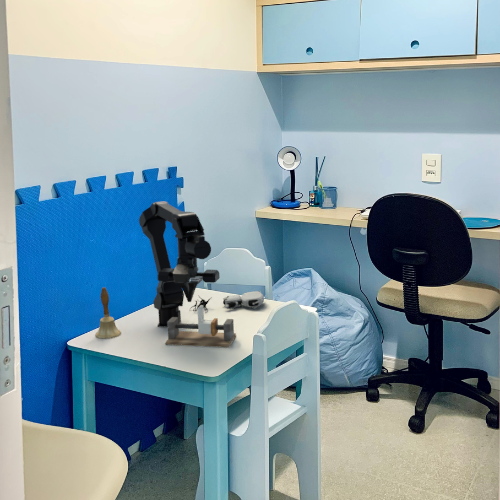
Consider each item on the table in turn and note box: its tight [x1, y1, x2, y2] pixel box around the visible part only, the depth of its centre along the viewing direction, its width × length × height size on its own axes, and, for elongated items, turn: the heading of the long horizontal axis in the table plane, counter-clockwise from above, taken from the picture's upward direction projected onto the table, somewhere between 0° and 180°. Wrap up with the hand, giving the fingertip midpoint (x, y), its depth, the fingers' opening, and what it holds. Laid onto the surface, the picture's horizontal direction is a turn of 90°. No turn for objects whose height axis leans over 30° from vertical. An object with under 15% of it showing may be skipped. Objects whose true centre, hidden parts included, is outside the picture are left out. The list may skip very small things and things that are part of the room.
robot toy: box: [222, 290, 265, 309], centre depth 237 cm, size 12×4×15 cm
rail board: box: [165, 317, 237, 348], centre depth 202 cm, size 20×10×7 cm, turn 79°
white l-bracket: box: [197, 305, 213, 334], centre depth 201 cm, size 4×4×8 cm
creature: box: [189, 295, 213, 314], centre depth 233 cm, size 8×5×8 cm
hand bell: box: [94, 286, 122, 340], centre depth 209 cm, size 8×8×16 cm
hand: (189, 301), depth 204 cm, fingers closed
